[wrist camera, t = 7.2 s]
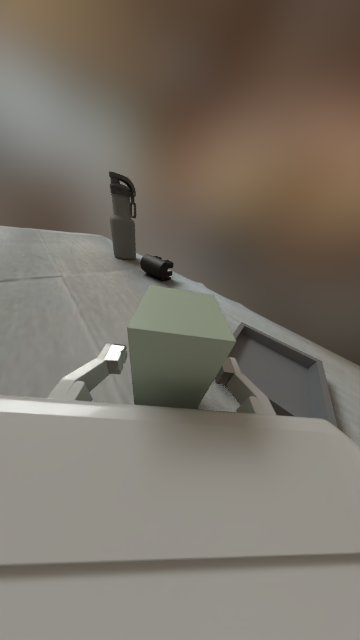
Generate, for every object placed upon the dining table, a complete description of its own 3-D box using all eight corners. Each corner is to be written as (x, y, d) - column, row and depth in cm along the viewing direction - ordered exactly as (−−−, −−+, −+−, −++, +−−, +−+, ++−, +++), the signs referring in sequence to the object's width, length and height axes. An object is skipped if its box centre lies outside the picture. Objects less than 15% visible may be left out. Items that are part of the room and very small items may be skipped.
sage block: (184, 428, 14) (236, 341, 6) (136, 425, 13) (127, 327, 6) (183, 382, 18) (214, 295, 10) (146, 378, 17) (149, 284, 10)
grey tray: (319, 455, 14) (343, 449, 12) (207, 372, 19) (213, 360, 18) (309, 371, 23) (321, 361, 21) (236, 332, 29) (241, 322, 27)
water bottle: (133, 255, 70) (130, 181, 54) (139, 260, 64) (138, 179, 48) (112, 254, 64) (101, 172, 48) (117, 259, 58) (107, 167, 42)
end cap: (140, 273, 49) (139, 254, 45) (154, 271, 54) (155, 253, 50) (158, 283, 45) (160, 262, 41) (172, 279, 50) (174, 261, 46)
